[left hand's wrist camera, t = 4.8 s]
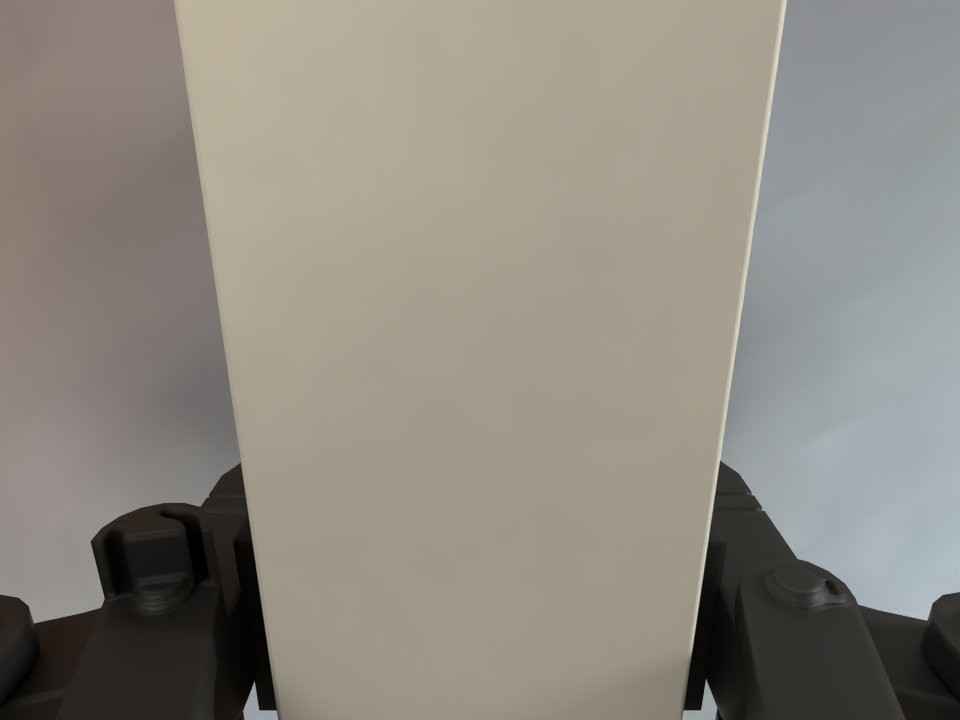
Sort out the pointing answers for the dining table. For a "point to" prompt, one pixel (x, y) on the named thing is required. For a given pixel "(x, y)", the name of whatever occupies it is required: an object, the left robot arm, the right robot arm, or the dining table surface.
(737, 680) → the left robot arm
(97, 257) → the dining table surface
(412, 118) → the bar
